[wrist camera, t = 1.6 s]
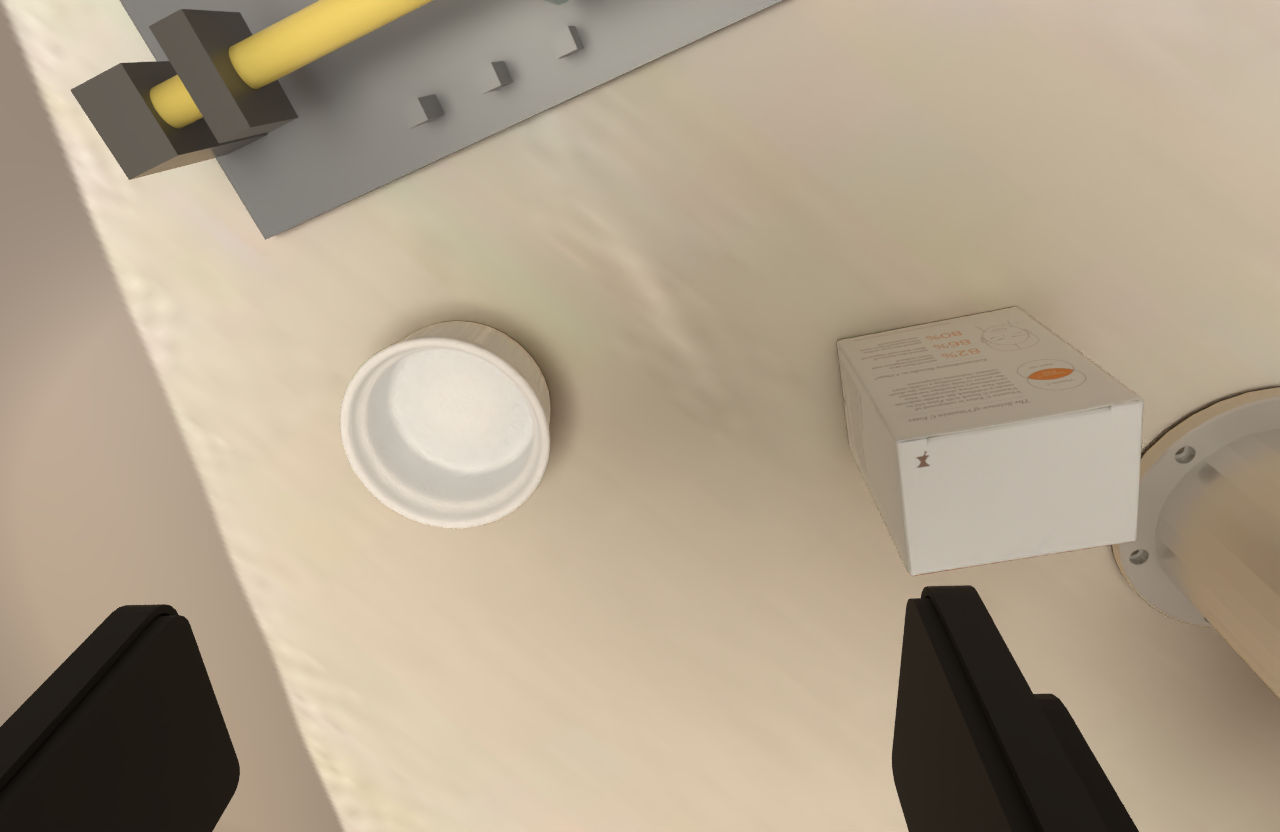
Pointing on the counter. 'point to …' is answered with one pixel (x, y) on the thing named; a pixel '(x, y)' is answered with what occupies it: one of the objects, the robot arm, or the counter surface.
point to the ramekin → (449, 425)
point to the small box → (990, 441)
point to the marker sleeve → (556, 1)
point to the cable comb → (361, 84)
